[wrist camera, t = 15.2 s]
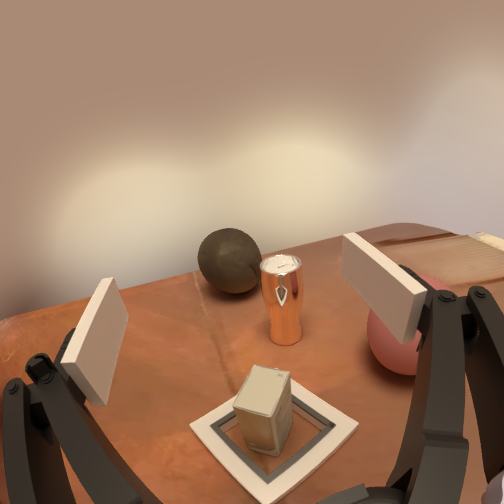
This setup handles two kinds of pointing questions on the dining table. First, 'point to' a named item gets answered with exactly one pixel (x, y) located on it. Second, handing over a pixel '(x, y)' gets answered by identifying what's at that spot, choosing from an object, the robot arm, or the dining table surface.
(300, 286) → the beer glass
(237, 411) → the skincare box
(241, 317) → the dining table surface
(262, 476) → the socket block
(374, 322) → the balloon
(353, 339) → the dining table surface
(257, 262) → the dark brown ball
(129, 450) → the dining table surface
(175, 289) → the dining table surface
